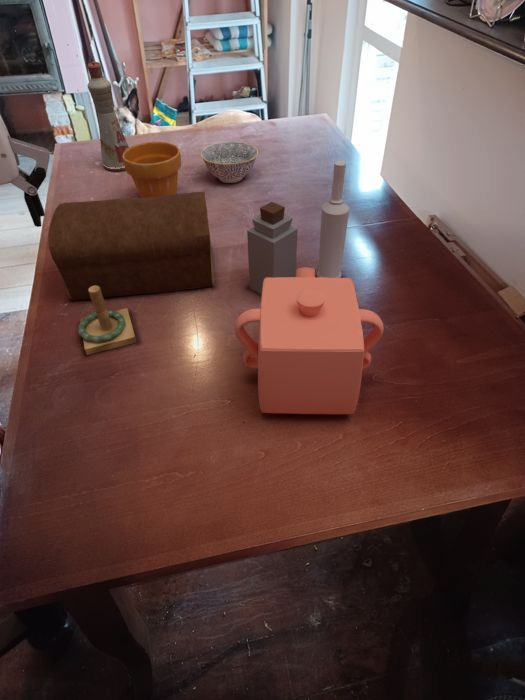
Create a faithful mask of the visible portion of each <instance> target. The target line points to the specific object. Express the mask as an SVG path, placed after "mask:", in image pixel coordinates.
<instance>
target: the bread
mask: <svg viewBox="0 0 525 700" xmlns="http://www.w3.org/2000/svg"><path fill="white" fill-rule="evenodd" d="M47 236H48V237H47V239H48V242H47V243H48V250H49V252H50V257H51V259H52V261H53V263H54V265H55V266H56V269H57V270H58V272H59V274H60V276H61V278H62V281H63V283H64V286H65V289H66V292H67V294H68V295H67V296H69V298H70V299H71V301H80V300H81V301H83V300H91V297H90V294H89V291H88V289H89V288H90V287H91V286H99V287H100V289H101V292H102V295H103V298H112V297H124V296H126V297H127V296H134V295H143V294H154V293H165V292H166V293H167V292H173V291H180V290H181V291H182V290H193V289H202V288H208V287H210V288H211V287H214V284H215V281H216V278H215V277H216V276H215V268H214V260H213V249H212V241H211V232H210V224H209V215H208V207H207V199H206V193H205V191H193V192H185V193H176V194H175V195H165V196H157V197H146V198H141V197H131V198H124V199H123V198H122V199H120V198H119V199H118V198H116V199H115V198H114V199H113V198H112V199H103V200H88V201H73V202H62V203H59V204H58V205H57V206H56V208H55V210H54V211H53V214H52V216H51V221H50V223H49V229H48V234H47Z"/></svg>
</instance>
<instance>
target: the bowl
mask: <svg viewBox="0 0 525 700" xmlns="http://www.w3.org/2000/svg"><path fill="white" fill-rule="evenodd" d="M199 155H200V157H201V159H202V160H203V162H204V164H205V167H206V168H207V170H208V171H209V173H211V175H213V176H214V177H216V178H217V179H218V180H219V181H220V182H222V183H224V184H225V183H226V184H234V183H235V184H236V183H238V182H241V181H242V180H243V178H244V177H246V176H247V175H249V173H250V172H251V171H252V169H253V167H254V164H255V162H256V159H257V157H258V155H259V150H258V148H257V147H255V146H254V145H252V144H250V143H247V142H242V141H219V142H215V143H211V144H209V145H207V146H205V147H204V148H203V149H201V151H200V153H199Z"/></svg>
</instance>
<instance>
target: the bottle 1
mask: <svg viewBox="0 0 525 700" xmlns="http://www.w3.org/2000/svg"><path fill="white" fill-rule="evenodd" d="M87 70H88V72H89V76H90V79H89V82H88V83H87V89H88V91H89V93H90V97H91V99H92V102H93V104H94V106H95V109H96V112H97V123H98V130H99V141H100V142H99V143H100V152H101V163H102V165H103V164H104V165H105V166H107V167H115V168H116V167H122V166H125V165H124V161H123V157H122V155H123V153H124V151H125V150H127V149H128V148H130V145H129V143H128V141H127V139H126V137H125V135H124V132H123V129H122V128H121V127H122V126H121V125H120V122H119V119H118V117H117V114H116V111H115V107H114V105H115V104H114V98H113V91H112V83H111V81H109V79H107V78H105V76H104V75H103V68H102V63H100V62H98V61H92V62H89V63H88V64H87ZM104 165H103V167H104V168H105V169H107V170H108V171H110V172H112V171H113V172H122V171H126V169H125V168H120V169H110V168H106V167H105V166H104Z"/></svg>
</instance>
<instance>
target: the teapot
mask: <svg viewBox="0 0 525 700" xmlns="http://www.w3.org/2000/svg"><path fill="white" fill-rule="evenodd" d="M253 322H258V323H259V324H258V325H259V327H258V341H257V342H256V341H255V340H254V339H253V338H252V336H250V334H249V333H248V332H247V331H246V329H245V327H244V326H245V325H247V324H251V323H253ZM362 323H366V324H370V325H373V326H374V327H373V328H372V330H371V331H370V332H369V333H368V334H367V335H366V336H365V337H364V333H363V327H362ZM384 327H385V326H384V323H383V321H382V319H381V317H380V316H379V315H378V314H377V313H376V312H374V311H372V310H370V309H366V308H365V309H364V308H360V307H359V303H358V298H357V293H356V288H355V284H354V281H353V279H352V278H351V277H341V278H322V277H317V276H316V268H313V267H309V266H307V267H306V266H303V267H298V268H297V267H296V276H295V277H277V278H265V279H264V281H263V288H262V295H261V299H260V308H252V309H251V308H250V309H247V310H246V311H244V312H242V313H241V314H239V316H238V317H237V319H236V320H235V323H234V332H235V336H236V337H237V339H238V341H239V342H240V343H241V345H242V346H243V347H244V348H245V350H244V352H243V354H242V361H243V363H244V365H245V366H246V367H247V368H250V369H257V391H258V403H259V408H260V409H259V410H260V412H261V413H263V414H286V415H287V414H290V415H292V414H293V415H294V414H295V415H354V414H355V412H356V409H357V406H358V403H359V398H360V393H361V385H362V377H363V370H365V369H367V368H368V367H369V366H370V365H371V364H372V363H371V362H372V355H371V353H370V352H369V351H370V350H371V349H372V348H373V347H374V346H376V345H377V343H378V342H379V341H380V340H381V338H382V337H383V334H384V331H385V329H384Z"/></svg>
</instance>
